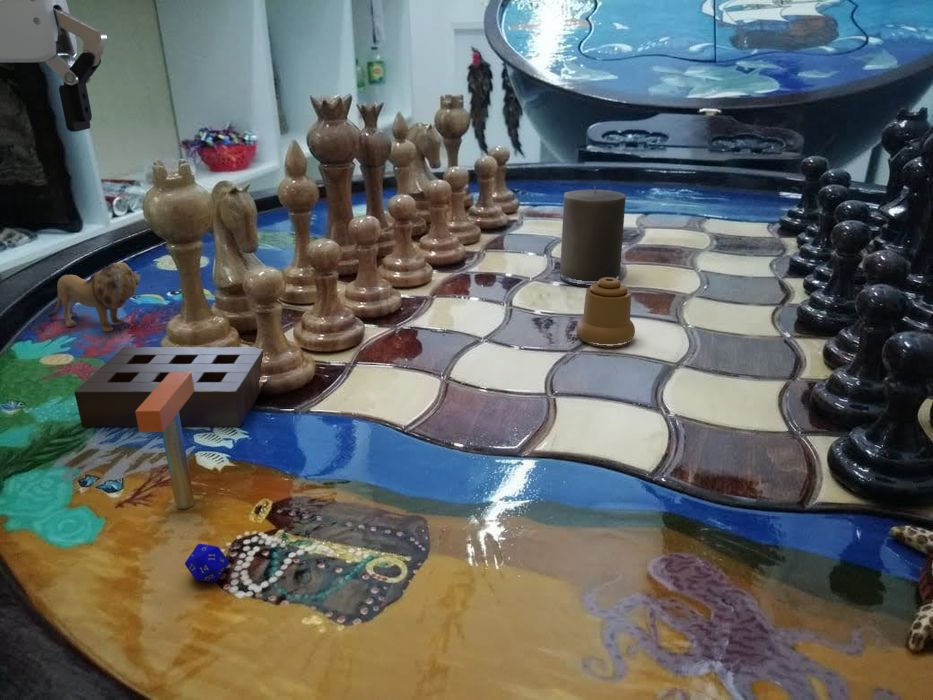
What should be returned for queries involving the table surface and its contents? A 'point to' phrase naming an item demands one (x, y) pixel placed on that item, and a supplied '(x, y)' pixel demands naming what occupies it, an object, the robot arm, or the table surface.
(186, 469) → the t handle
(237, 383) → the tool rack
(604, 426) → the table surface
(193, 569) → the die
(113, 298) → the lion figurine
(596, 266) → the pillar candle
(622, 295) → the ornamental finial
